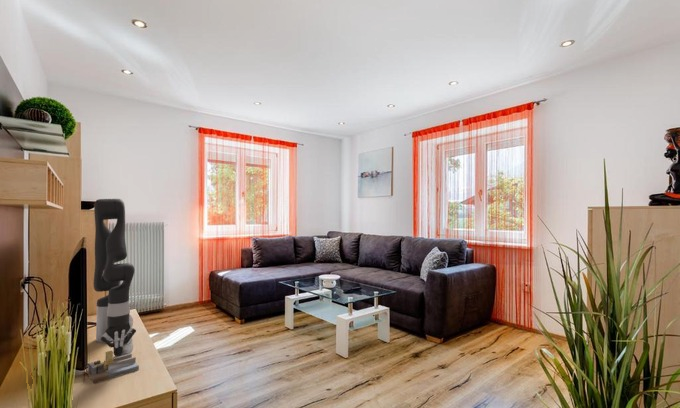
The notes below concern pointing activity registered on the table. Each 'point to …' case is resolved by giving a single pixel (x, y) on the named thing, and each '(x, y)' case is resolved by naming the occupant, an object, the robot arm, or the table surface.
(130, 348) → the silver threaded hollow container
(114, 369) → the lock board
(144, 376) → the table surface
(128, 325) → the robot arm
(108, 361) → the bolt
